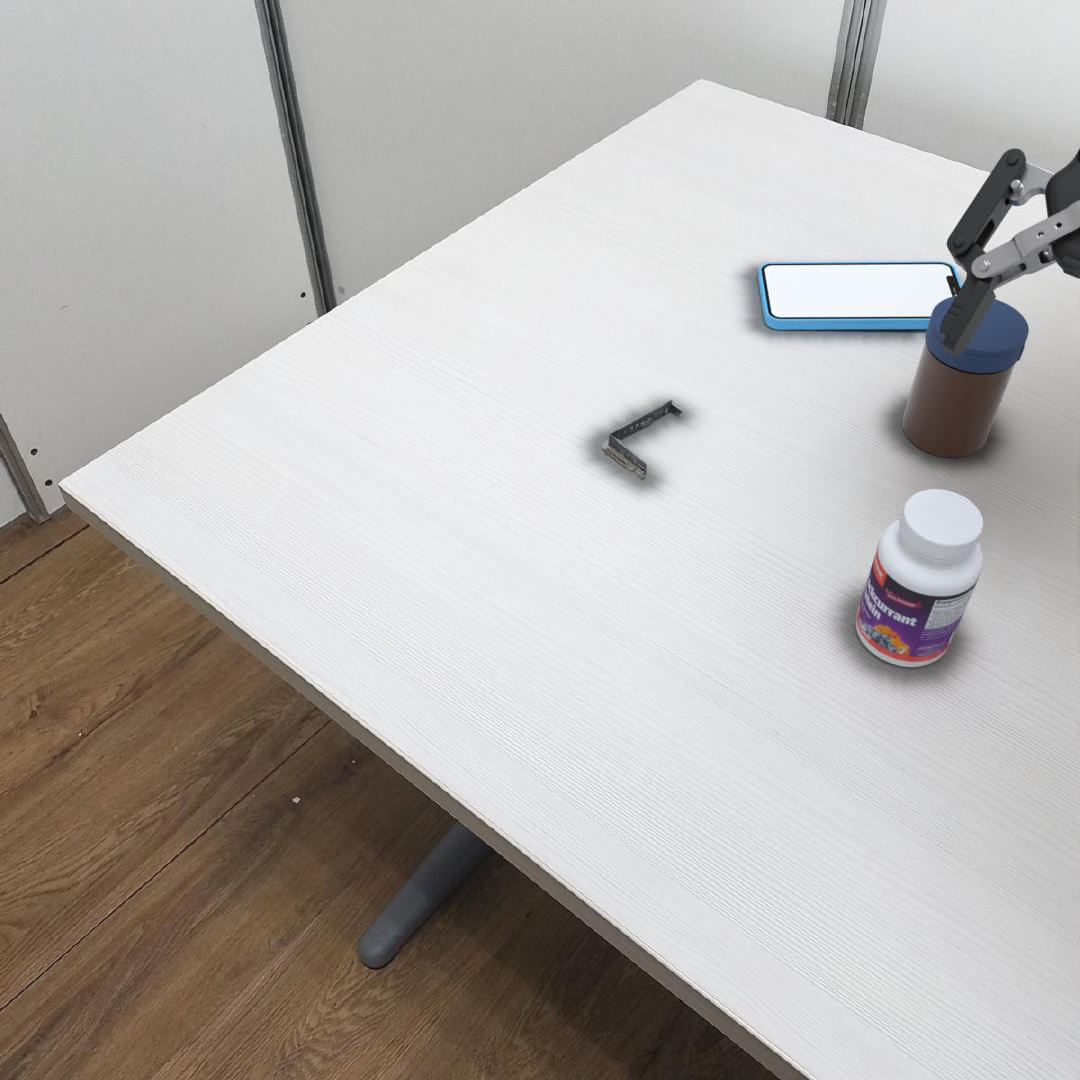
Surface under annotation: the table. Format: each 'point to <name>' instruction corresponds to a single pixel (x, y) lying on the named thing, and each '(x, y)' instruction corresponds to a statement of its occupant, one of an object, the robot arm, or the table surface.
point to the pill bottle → (921, 579)
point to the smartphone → (854, 294)
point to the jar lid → (983, 339)
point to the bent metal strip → (628, 429)
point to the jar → (952, 407)
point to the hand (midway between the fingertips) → (1025, 386)
